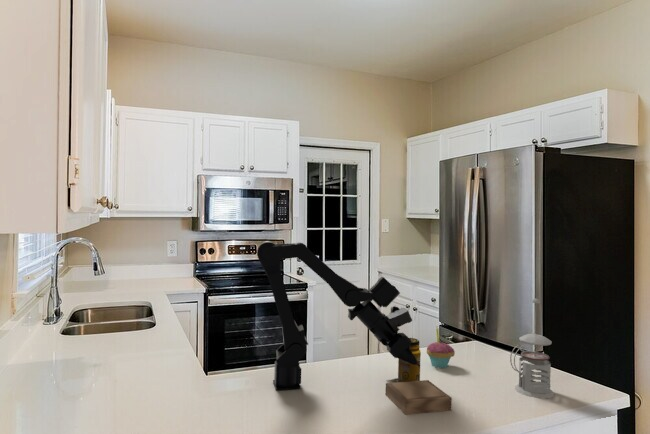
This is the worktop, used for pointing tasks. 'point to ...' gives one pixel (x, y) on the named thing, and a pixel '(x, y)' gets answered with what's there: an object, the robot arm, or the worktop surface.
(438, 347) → the cupcake
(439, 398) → the walnut base
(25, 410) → the worktop surface
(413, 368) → the condiment
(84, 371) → the worktop surface
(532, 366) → the french press
